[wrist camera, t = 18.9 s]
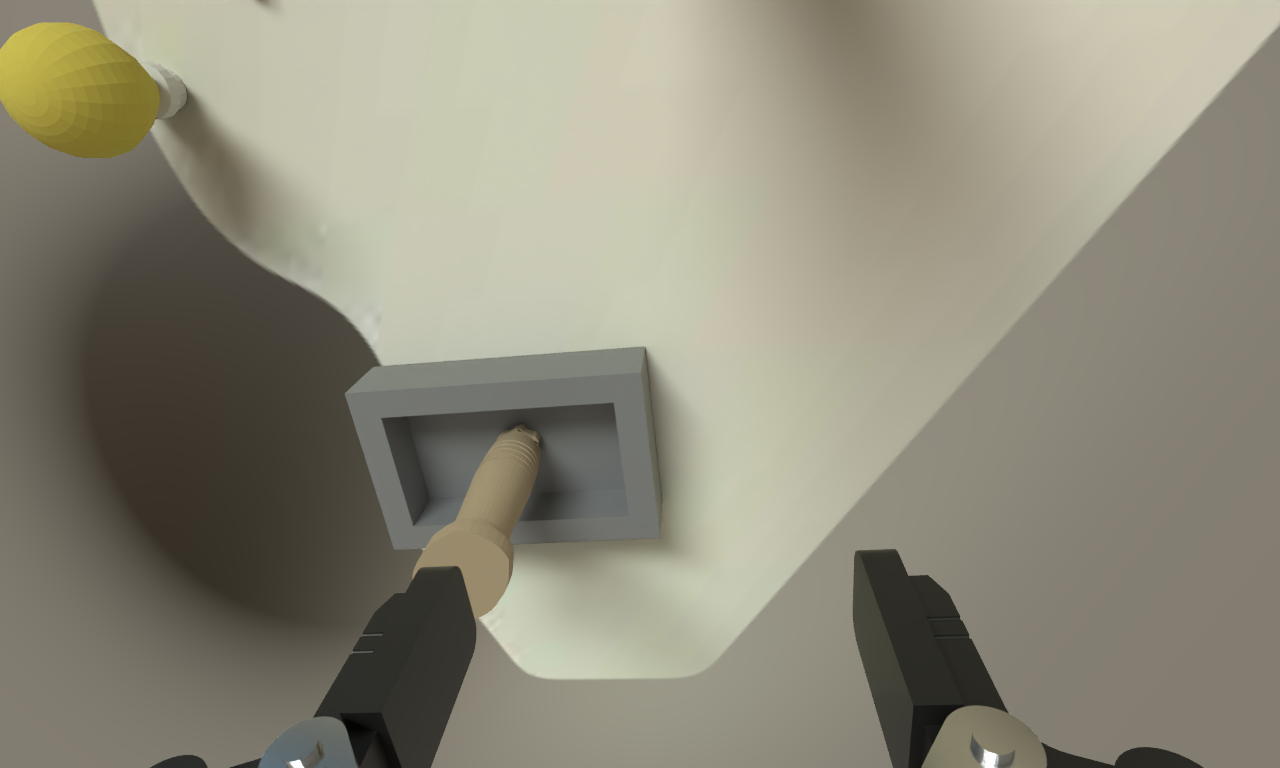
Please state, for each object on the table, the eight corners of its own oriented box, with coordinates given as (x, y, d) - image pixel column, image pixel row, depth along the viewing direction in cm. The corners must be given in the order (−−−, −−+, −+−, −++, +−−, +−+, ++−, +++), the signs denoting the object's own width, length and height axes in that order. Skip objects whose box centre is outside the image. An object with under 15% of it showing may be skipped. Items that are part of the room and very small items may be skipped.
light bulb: (95, 39, 41) (-74, 29, 32) (194, 20, 40) (50, 5, 31) (144, 153, 44) (1, 174, 35) (238, 138, 43) (117, 155, 34)
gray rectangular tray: (645, 346, 47) (640, 372, 43) (662, 501, 52) (659, 537, 48) (373, 367, 49) (344, 393, 45) (416, 513, 54) (394, 549, 50)
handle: (571, 424, 49) (526, 559, 35) (531, 487, 51) (475, 635, 38) (511, 392, 48) (443, 517, 34) (474, 457, 51) (396, 598, 37)
